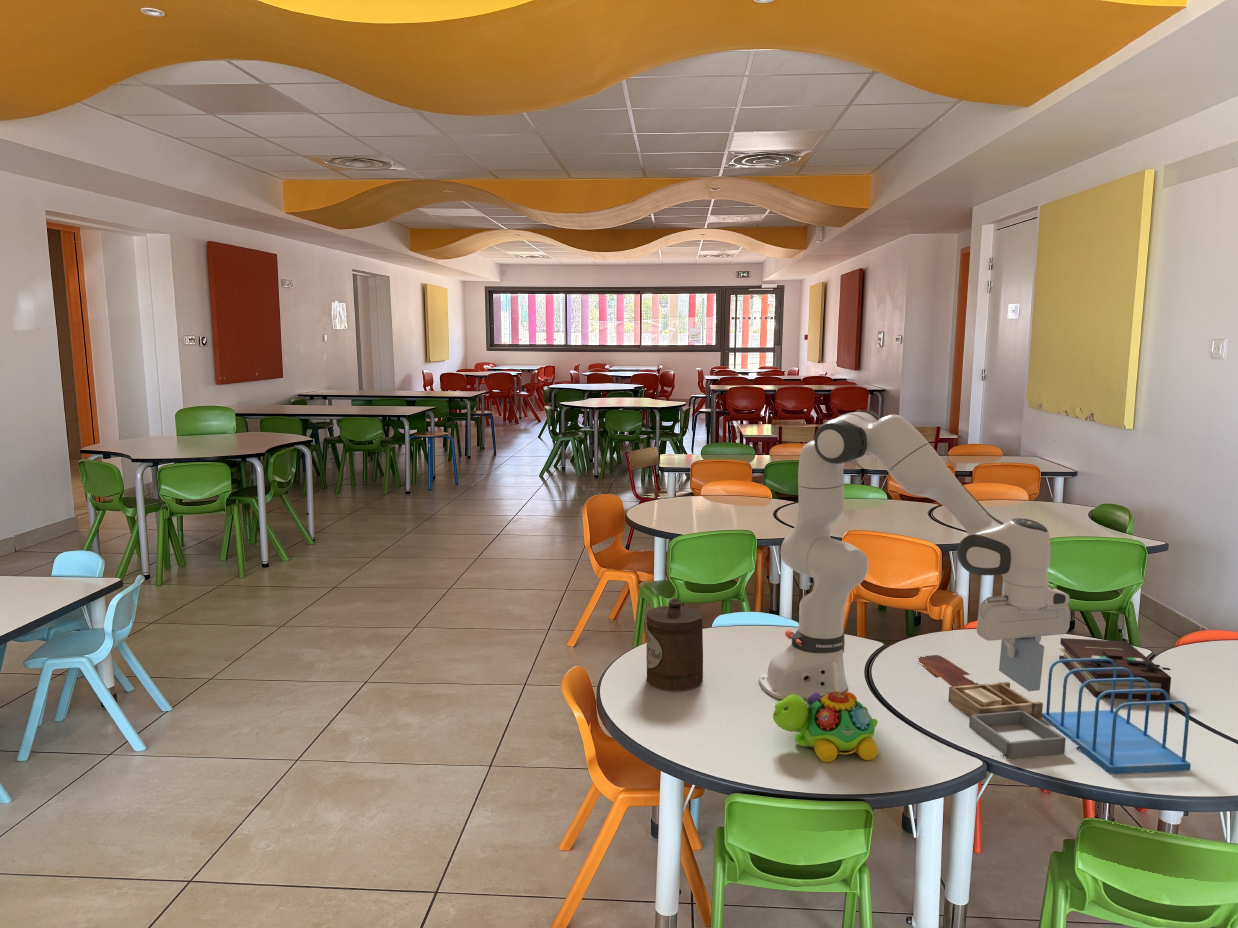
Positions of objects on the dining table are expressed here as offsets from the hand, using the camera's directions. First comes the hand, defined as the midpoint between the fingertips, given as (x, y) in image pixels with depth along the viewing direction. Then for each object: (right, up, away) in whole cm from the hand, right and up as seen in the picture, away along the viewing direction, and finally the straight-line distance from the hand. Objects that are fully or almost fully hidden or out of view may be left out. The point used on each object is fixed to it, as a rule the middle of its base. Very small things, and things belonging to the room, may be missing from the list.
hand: (1020, 655), depth 180 cm
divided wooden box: (+2, -18, +17) cm, 25 cm away
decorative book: (+41, -15, +37) cm, 57 cm away
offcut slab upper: (-1, -15, +16) cm, 22 cm away
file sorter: (+21, -20, +2) cm, 29 cm away
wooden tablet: (+1, -15, +41) cm, 43 cm away
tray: (0, -20, +3) cm, 20 cm away
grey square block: (0, -6, +1) cm, 6 cm away
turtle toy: (-42, -20, +2) cm, 47 cm away
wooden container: (-73, -15, +37) cm, 83 cm away
